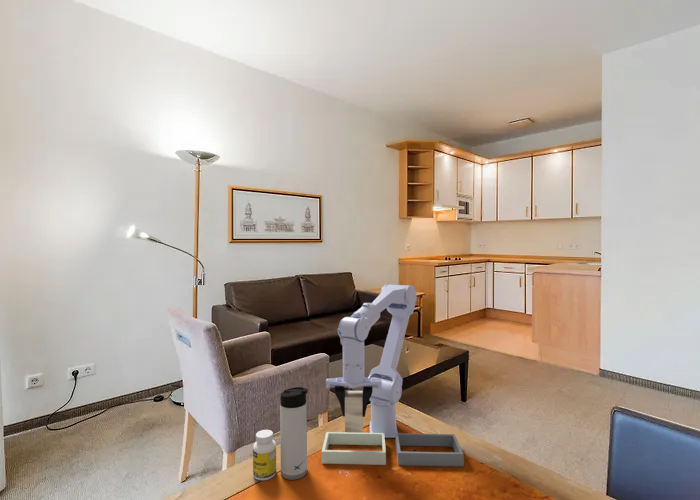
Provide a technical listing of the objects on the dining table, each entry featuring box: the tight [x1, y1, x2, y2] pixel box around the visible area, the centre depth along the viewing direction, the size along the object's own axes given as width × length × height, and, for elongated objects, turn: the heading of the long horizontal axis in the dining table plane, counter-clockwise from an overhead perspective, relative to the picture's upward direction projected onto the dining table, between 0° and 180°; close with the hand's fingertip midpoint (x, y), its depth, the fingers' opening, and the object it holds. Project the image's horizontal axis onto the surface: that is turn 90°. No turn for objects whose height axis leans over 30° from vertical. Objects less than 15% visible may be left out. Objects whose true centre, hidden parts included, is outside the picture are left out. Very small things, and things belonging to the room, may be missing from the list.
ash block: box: [344, 390, 364, 433], centre depth 97 cm, size 4×4×9 cm
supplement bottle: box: [252, 429, 277, 481], centre depth 88 cm, size 5×5×10 cm
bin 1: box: [321, 431, 387, 466], centre depth 97 cm, size 10×16×3 cm, turn 87°
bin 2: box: [395, 432, 465, 467], centre depth 96 cm, size 10×16×3 cm, turn 87°
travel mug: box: [279, 386, 309, 481], centre depth 89 cm, size 6×7×20 cm
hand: (354, 415), depth 97 cm, fingers closed on ash block, 4 cm apart
